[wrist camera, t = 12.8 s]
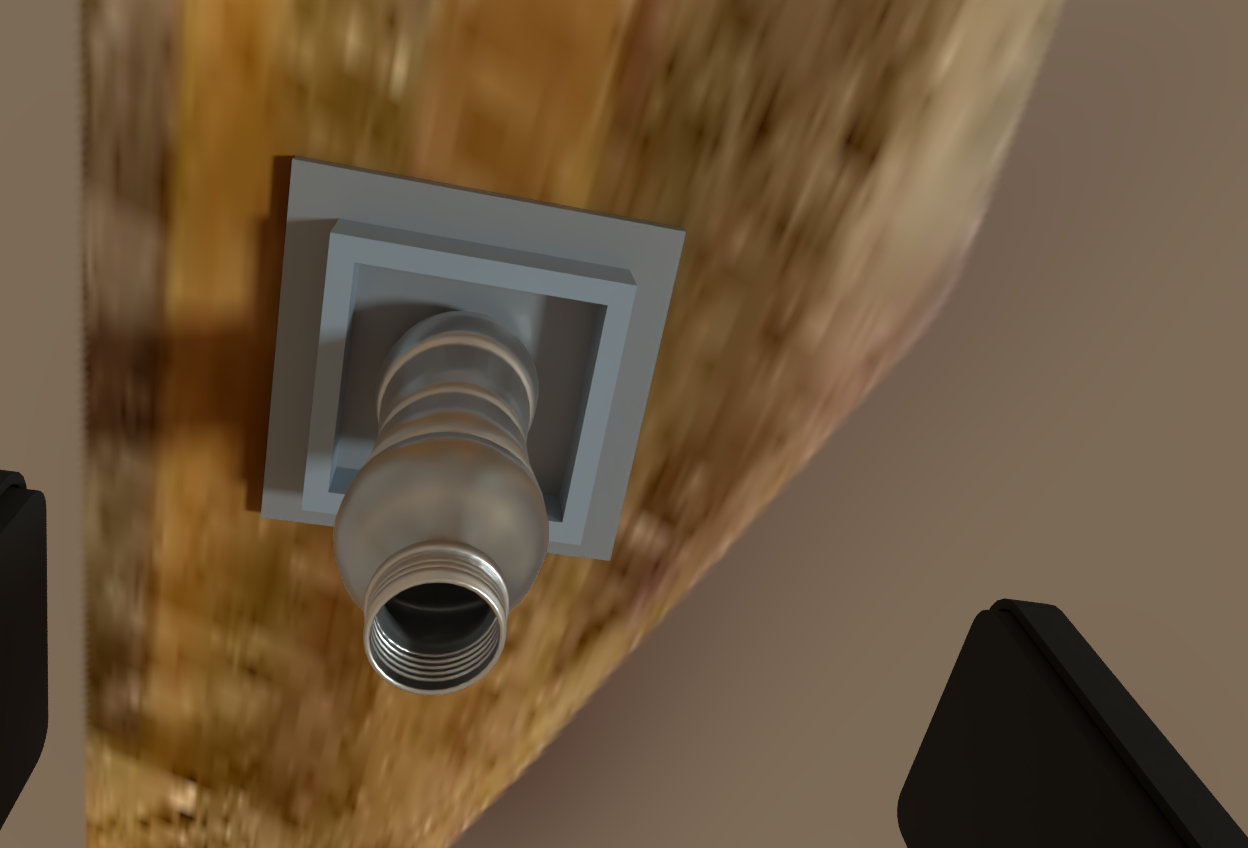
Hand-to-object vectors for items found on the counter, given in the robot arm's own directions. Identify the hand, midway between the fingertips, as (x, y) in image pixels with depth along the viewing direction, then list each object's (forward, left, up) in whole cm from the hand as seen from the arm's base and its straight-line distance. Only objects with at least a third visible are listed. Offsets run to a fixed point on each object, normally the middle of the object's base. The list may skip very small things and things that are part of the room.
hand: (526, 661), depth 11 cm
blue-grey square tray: (+10, 0, -35) cm, 36 cm away
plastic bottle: (+10, 0, -34) cm, 36 cm away
